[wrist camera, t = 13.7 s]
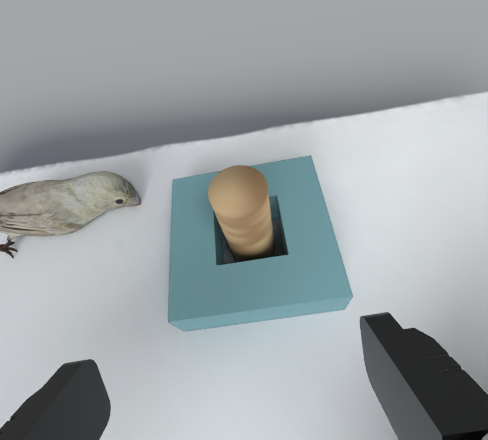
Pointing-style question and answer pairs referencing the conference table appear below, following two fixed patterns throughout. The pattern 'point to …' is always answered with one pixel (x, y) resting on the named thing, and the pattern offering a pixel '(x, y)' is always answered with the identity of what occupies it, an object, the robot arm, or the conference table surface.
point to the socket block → (261, 270)
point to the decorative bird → (61, 204)
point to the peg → (243, 212)
